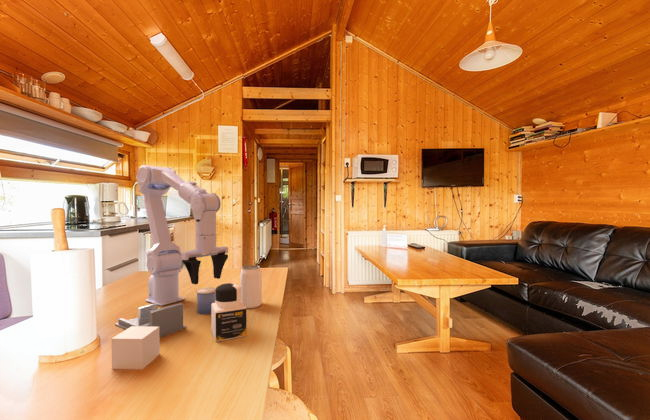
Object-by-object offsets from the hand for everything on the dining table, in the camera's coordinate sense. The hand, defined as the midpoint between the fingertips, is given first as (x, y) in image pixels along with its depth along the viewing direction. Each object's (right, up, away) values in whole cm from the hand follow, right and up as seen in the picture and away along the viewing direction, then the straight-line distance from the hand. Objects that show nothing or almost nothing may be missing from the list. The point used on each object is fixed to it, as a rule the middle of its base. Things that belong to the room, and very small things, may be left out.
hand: (206, 280), depth 92 cm
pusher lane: (-10, -9, -11) cm, 18 cm away
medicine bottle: (+11, -10, -15) cm, 21 cm away
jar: (0, -9, 0) cm, 9 cm away
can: (+12, -9, +6) cm, 16 cm away
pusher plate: (-11, -8, -11) cm, 17 cm away
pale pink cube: (-3, -10, -29) cm, 31 cm away
